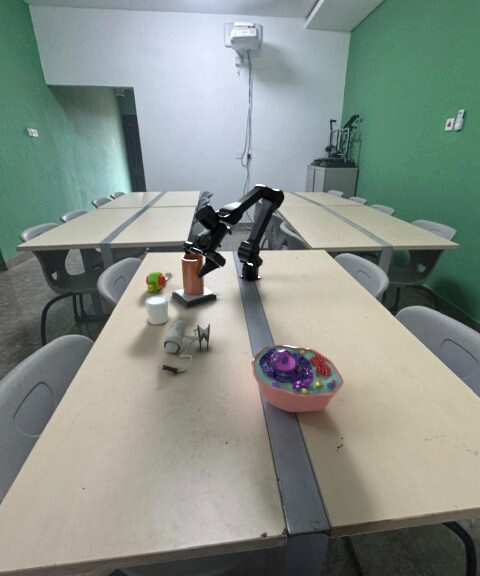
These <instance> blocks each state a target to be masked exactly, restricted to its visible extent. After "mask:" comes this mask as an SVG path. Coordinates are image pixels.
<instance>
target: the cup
mask: <svg viewBox="0 0 480 576" xmlns="http://www.w3.org/2000/svg"><path fill="white" fill-rule="evenodd" d="M180 259H181V273H182V287H183V288H182V289H183V290H184V293H185V294H186V295H190V296H196V295H200V294H202V293H203V292H204V287H205V275H204V276H203V277H201V278H198V274H199V272H200V271H201V269H202V267H203V266H204V256H202V255H199V254H187V255H185V254H184V255H182V256H181V258H180Z"/></svg>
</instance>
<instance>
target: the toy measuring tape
mask: <svg viewBox="0 0 480 576" xmlns="http://www.w3.org/2000/svg"><path fill="white" fill-rule="evenodd" d="M171 276H172V272H167V271H166V272H165V275H164V273H162V272H161V271H156V270H155V271H154V270H153V271H151V272H150V273H149V274H148V275H147V276H146V279H145V283H146V285H147V290H148V292H149V293H157V292H159V290H161V289H162V288H163V287H164V286H165V285H166V281H168V280H170V277H171Z"/></svg>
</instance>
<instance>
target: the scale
mask: <svg viewBox="0 0 480 576" xmlns="http://www.w3.org/2000/svg"><path fill="white" fill-rule="evenodd" d="M171 297H172V298H173V299H174V300H176V301H177V302H178V303H180V304H181V305H182V306H184V307H185V308H186V309H189V308H193V307H196V306H199V305H202V304H205V303H209V302H212V301H215V300H217V293H215V292H214V291H212V290H210V289H209V288H208V287H206V286H204V292H203V293H202V294H200V295H196V296H190V295H186V294H185V293H184V290H183V288H180V289H175V290H174V291H171Z"/></svg>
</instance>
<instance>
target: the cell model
mask: <svg viewBox="0 0 480 576" xmlns="http://www.w3.org/2000/svg"><path fill="white" fill-rule="evenodd" d="M251 367H252V376H253V377H254V380H256V384H257V387H258V390H259V393H260V394H261V395H262V396H263V398H264V399H265V400H266V401H267V403H269V404H270V405H271V406H273V407H276V408H278V409H280V410H283V411H285V412H289V413H306V412H307V413H308V412H317V411H322V410H324V409H326V407H327V406H328V405H329V403H330V402H331V400H332V399H333V398H334V397H335V396H336V395H337V393H338V392H339V391H340V390H341V388H342V387H343V385H344V379H343V376H342V374H341V373H340V372H339V369H338V368H337V367H336V366H335V364H334V362H333V361H332V360H331V359H329V358H328V357H327V356H325V355H323V354H322V353H320V352H319V351H317V350H315V349H313V348H310V347H303V346H302V347H300V346H292V345H287V344H273V345H268V346H264V347H262V348H260V349H259V350H258V351H257V352H256V353H255V355H254V356H253V357H252V359H251Z"/></svg>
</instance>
